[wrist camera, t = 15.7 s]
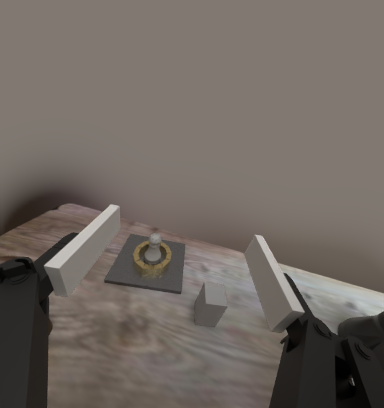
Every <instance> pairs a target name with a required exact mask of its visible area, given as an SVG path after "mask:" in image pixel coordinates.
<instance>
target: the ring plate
mask: <svg viewBox="0 0 384 408" xmlns="http://www.w3.org/2000/svg"><path fill="white" fill-rule="evenodd" d="M148 249H149V237H144V236H139V235H134V234H131V235H130V236H129V238H128V240H127V241H126V243H125V245H124V247H123V248H122V250H121V252H120V254H119V255H118V257H117V259H116V260H115V262H114V264H113V266H112V267H111V269H110V271H109V273H108V274H107V276H106V278H105V279H104V282H105V283H111V284H117V285H124V286H131V287H137V288H144V289H150V290H157V291H163V292H170V293H177V294H181V290H182V278H183V266H184V253H185V244H182V243H177V242H171V241H166V240H162V241H161V242H160V246H159V250H160V252H161V260H160V261H159V263H157V264H154V265H151V264H148V263H146V262H145V260H144V255H145V252H146V251H147V250H148Z"/></svg>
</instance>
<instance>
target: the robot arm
mask: <svg viewBox="0 0 384 408" xmlns="http://www.w3.org/2000/svg"><path fill="white" fill-rule="evenodd" d="M119 230H120V206H116V205H110V206H109V207H108V208H107V209H106V210H105V211H104V212H102V213H101V214H100V215H99V216H98V217H97V218H96V219H95V220H94V221H93V222H91V223H90V224H89V225H88V226H87V227H86V228H85V229H84V230H83V231H82V232H80V233H74V232H73V233H71V234H69V235H67V236H65V237H63V238H62V239H61V240H60V241H59V242H58V243H56V244H55V245H54V246H53V247H52V248H50V249H49V250H48V251H47V252H45V253H44V254H43V255H42V256H41V257H39V258H38V259H37V260H36V261H35V262H33V261H32V259H30V258H29V257H18V258H13V259H10V260H8V261H6V262H4V263H2V264H0V408H47V386H48V329H49V297H48V296H49V295H50V293H51V292H52V291H53V290H54V293H55V295H56V296H62V297H68V298H69V296H70V295H71V294H72V292H73V291H74V290H75V288H76V287H77V286H78V284H79V283H80V282H81V281H82V279H83V278H84V277H85V275H86V274H87V273H88V271H89V270H90V269H91V267H92V266H93V265H94V263H95V262H96V261H97V259H98V258H99V257H100V255H101V254H102V253H103V251H104V250H105V249H106V247H107V246H108V245H109V243H110V242H111V241H112V239H113V238H114V237H115V235H116V234H117V233H118V232H119ZM244 255H245V258H246V261H247V264H248V267H249V270H250V273H251V276H252V279H253V282H254V285H255V288H256V290H257V293H258V296H259V299H260V302H261V305H262V308H263V311H264V314H265V317H266V320H267V323H268V326H269V329H270V331H272V332H278V333H282V332H283V331H284V330H285V329H286V330H287V332H288V335H287V336H286V337H285V338H284V339H282V340H281V342H280V343H281V344H283V343H284V342H285V344H284V348H283V352H282V356H281V360H280V365H279V369H278V373H277V377H276V381H275V385H274V389H273V393H272V398H271V402H270V406H269V408H384V311H383V312H382V313H380V314H378V315H375V316H366V317H356V318H350V319H347V320H346V321H344V322H343V323H341V324H340V326H339V336H338V335H336V334H334V333H332V332H331V331H330V329H329V328H328V327H327V326H326V325H325V324H324V323H323V322H322V321H321V320H319V319H318V318H315V317H314V315H313V314H312V312H311V310H310V309H309V307H308V305H307V304H306V302H305V300H304V299H303V297H302V295H301V294H300V292H299V290H298V288H296V285H295V283H294V282H293V280H292V279H291V278H290V277H289V276H288V275H287V274H286V273H283V272H282V270H281V269H280V267H279V265H278V263H277V261H276V260H275V258H274V256H273V254H272V252H271V251H270V249H269V247H268V245H267V243H266V242H265V240H264V239H263V237H262V236H259V235H255V236H254V238H253V239H252V241H251V243H250V245H249V247H248V248H247V250H246V252H245V254H244ZM351 378H353V381H354V384H355V386H354V385H353V383H352V379H351Z"/></svg>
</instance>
